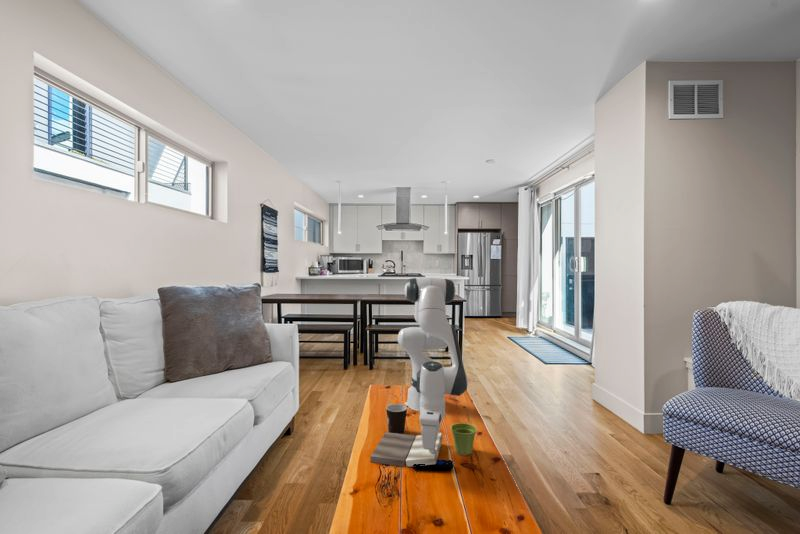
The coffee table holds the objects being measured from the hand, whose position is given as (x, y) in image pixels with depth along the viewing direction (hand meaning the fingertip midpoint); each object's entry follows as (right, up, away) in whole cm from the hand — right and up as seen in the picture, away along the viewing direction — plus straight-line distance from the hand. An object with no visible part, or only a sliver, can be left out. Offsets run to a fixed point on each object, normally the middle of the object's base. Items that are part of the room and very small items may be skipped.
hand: (432, 451), depth 127 cm
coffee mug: (-12, -5, +26) cm, 29 cm away
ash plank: (-2, -3, +6) cm, 7 cm away
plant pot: (+12, -5, +8) cm, 15 cm away
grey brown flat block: (-13, -4, +8) cm, 16 cm away
